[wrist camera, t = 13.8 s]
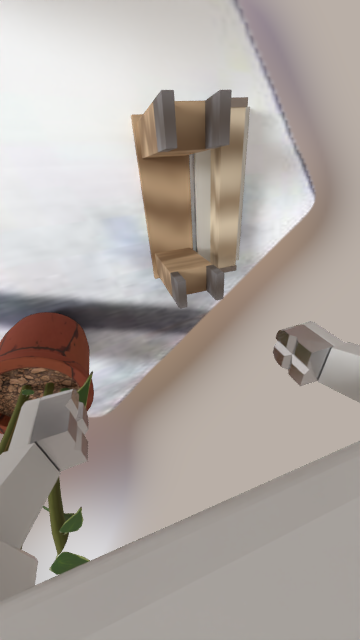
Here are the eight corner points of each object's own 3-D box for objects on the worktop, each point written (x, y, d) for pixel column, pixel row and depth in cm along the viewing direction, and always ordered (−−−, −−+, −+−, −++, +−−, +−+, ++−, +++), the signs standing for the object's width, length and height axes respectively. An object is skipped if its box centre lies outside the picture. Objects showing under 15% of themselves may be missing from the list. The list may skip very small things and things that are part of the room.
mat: (192, 109, 29) (193, 107, 28) (247, 107, 31) (249, 106, 30) (197, 266, 40) (198, 267, 40) (236, 258, 42) (238, 259, 42)
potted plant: (-14, 334, 35) (-441, 948, 7) (57, 269, 34) (-137, 737, 6) (77, 381, 46) (49, 712, 17) (135, 334, 44) (207, 613, 16)
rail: (209, 105, 29) (222, 97, 26) (233, 104, 29) (248, 97, 27) (209, 267, 41) (218, 273, 38) (226, 264, 41) (236, 270, 39)
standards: (131, 116, 27) (153, 77, 17) (185, 114, 29) (237, 77, 18) (154, 277, 39) (176, 314, 28) (192, 269, 41) (226, 302, 30)
